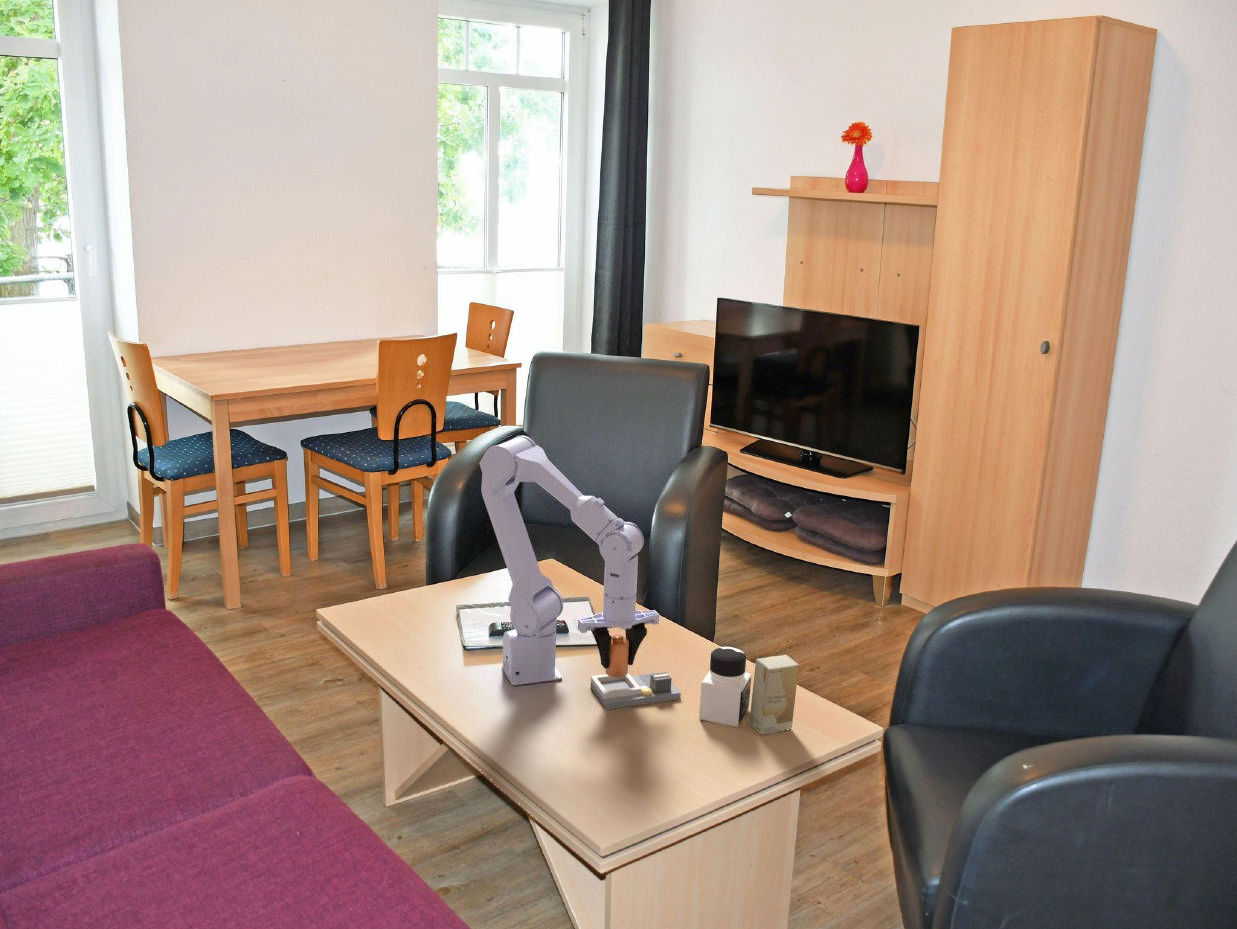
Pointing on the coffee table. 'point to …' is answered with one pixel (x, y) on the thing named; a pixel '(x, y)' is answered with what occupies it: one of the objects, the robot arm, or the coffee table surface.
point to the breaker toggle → (660, 682)
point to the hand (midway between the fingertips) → (616, 664)
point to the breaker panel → (629, 690)
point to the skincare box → (773, 694)
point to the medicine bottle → (725, 688)
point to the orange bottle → (618, 657)
